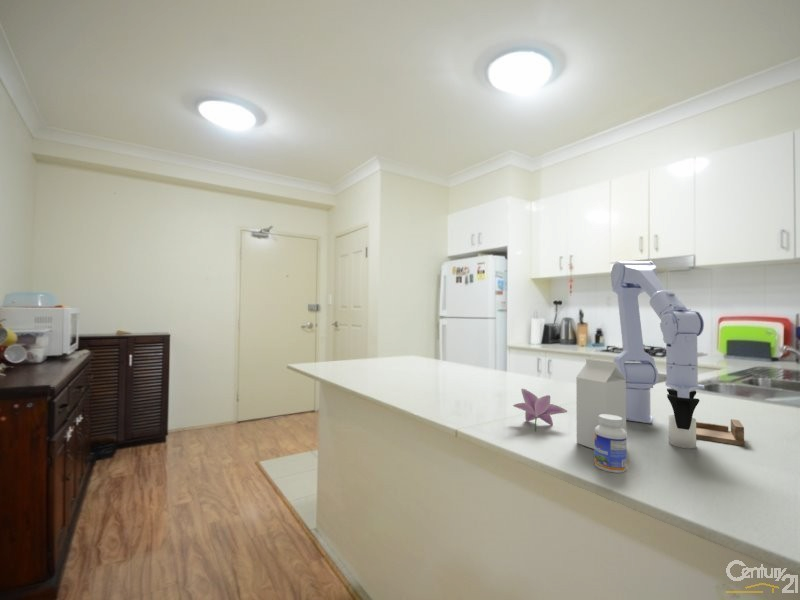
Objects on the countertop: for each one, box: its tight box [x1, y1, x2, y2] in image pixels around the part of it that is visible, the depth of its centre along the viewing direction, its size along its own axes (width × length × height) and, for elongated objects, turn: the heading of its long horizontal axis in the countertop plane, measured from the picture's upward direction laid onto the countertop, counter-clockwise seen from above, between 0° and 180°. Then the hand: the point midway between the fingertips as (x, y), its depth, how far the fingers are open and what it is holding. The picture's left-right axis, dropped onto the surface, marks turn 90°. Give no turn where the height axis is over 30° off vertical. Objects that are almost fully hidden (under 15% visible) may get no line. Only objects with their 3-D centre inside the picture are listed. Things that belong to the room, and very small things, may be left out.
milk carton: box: [575, 358, 627, 450], centre depth 86 cm, size 7×7×19 cm
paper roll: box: [668, 414, 697, 450], centre depth 87 cm, size 5×5×6 cm
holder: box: [696, 418, 746, 447], centre depth 93 cm, size 11×8×4 cm
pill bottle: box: [593, 414, 627, 474], centre depth 74 cm, size 5×5×10 cm
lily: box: [512, 388, 568, 432], centre depth 99 cm, size 12×12×10 cm
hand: (682, 424), depth 87 cm, fingers open, 7 cm apart
